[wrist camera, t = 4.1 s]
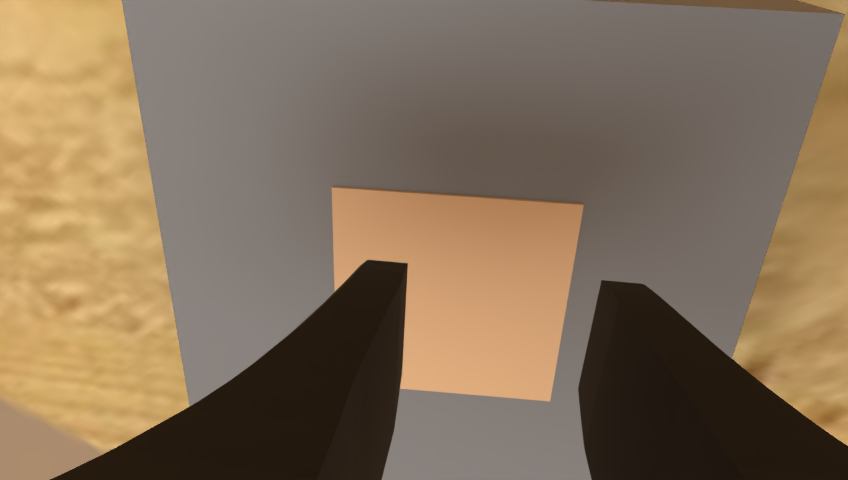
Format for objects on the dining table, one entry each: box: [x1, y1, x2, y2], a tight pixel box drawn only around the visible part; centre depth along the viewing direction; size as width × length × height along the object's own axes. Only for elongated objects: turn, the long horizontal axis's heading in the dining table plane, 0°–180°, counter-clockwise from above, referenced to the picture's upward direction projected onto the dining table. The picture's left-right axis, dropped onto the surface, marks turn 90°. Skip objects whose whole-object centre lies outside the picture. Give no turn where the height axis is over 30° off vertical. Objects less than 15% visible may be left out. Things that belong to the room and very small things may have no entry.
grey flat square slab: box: [122, 0, 845, 480], centre depth 19 cm, size 16×16×3 cm
